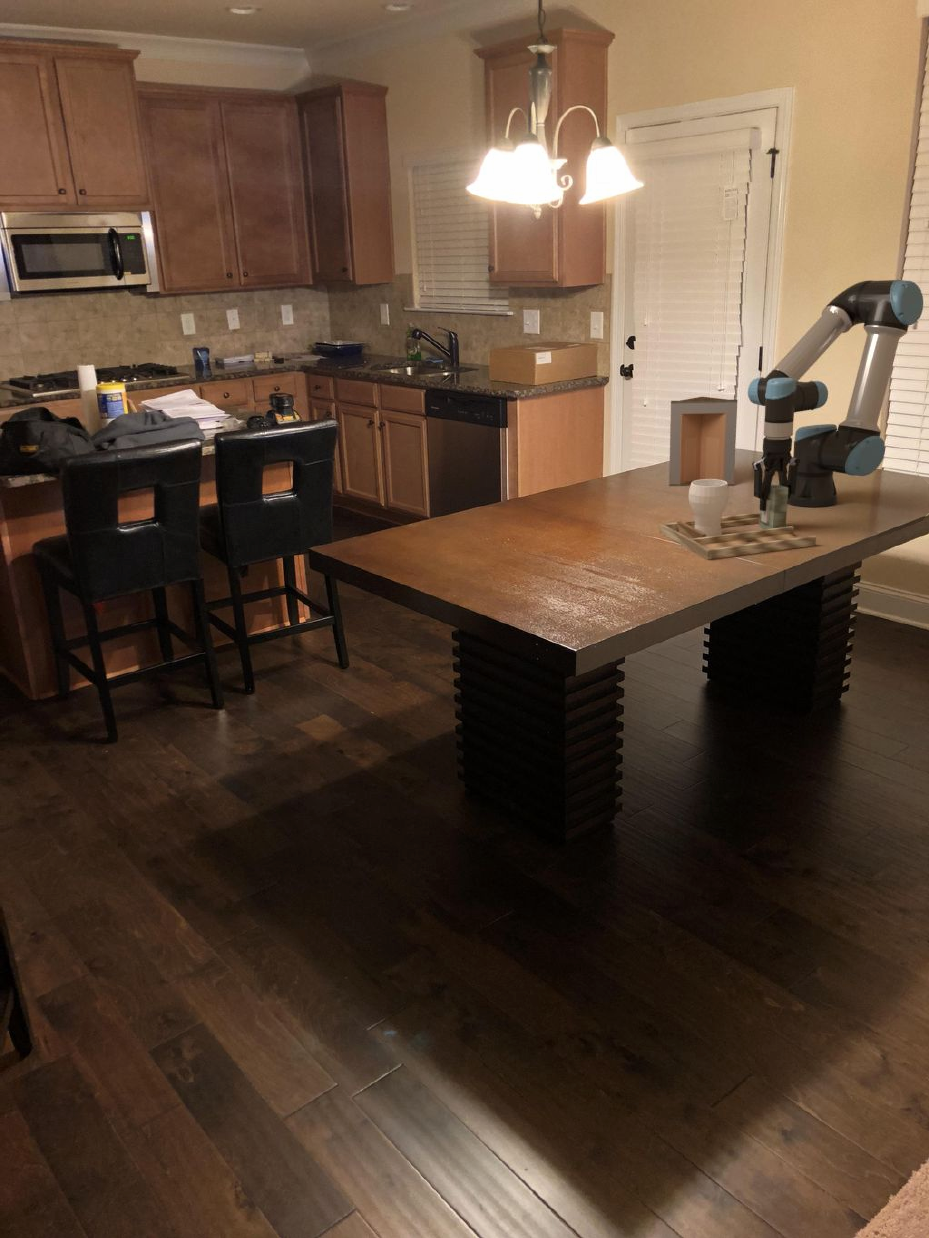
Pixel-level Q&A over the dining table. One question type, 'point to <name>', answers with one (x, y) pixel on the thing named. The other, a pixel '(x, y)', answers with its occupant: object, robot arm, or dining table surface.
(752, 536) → the lane rails
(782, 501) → the rail with green post
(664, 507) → the dining table surface
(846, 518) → the dining table surface
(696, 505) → the cup
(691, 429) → the cabinet
